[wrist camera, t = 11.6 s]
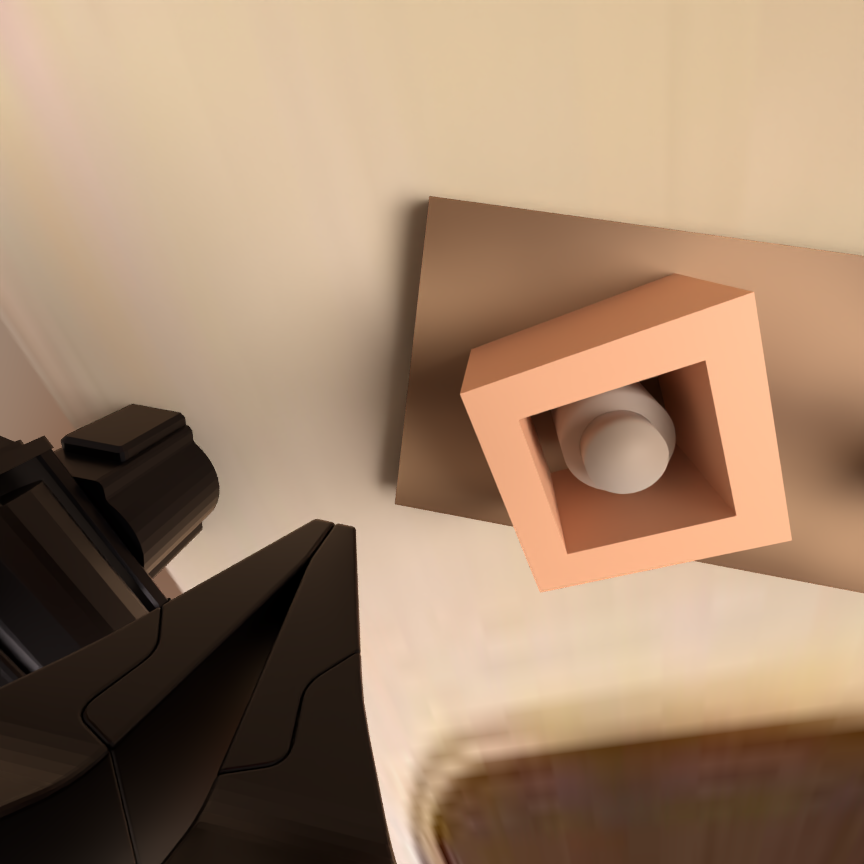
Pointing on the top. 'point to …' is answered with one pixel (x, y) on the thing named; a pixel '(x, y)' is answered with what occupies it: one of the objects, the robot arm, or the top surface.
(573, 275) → the collar board
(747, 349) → the collar
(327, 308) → the top surface
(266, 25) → the top surface
